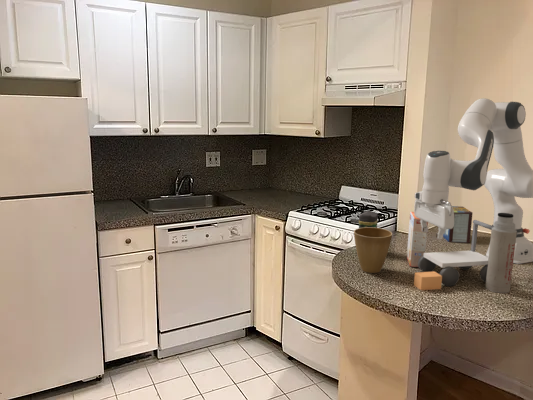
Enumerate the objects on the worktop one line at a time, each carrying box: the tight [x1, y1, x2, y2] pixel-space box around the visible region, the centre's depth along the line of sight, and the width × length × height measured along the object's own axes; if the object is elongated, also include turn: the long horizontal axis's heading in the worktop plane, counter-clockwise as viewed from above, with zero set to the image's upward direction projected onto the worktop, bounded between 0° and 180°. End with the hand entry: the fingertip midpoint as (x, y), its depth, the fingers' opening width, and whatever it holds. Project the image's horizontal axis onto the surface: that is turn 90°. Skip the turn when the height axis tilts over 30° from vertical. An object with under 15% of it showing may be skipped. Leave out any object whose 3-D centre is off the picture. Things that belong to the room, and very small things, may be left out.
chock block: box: [413, 270, 443, 291], centre depth 166 cm, size 8×5×5 cm, turn 100°
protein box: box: [443, 205, 473, 244], centre depth 231 cm, size 10×15×16 cm
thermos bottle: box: [485, 213, 517, 294], centre depth 163 cm, size 8×8×28 cm
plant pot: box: [353, 227, 393, 274], centre depth 182 cm, size 15×15×16 cm
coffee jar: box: [358, 210, 379, 228], centre depth 207 cm, size 10×8×19 cm
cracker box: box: [406, 211, 429, 268], centre depth 192 cm, size 14×6×21 cm, turn 168°
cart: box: [417, 219, 494, 287], centre depth 175 cm, size 24×17×21 cm
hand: (431, 235), depth 163 cm, fingers open, 8 cm apart
